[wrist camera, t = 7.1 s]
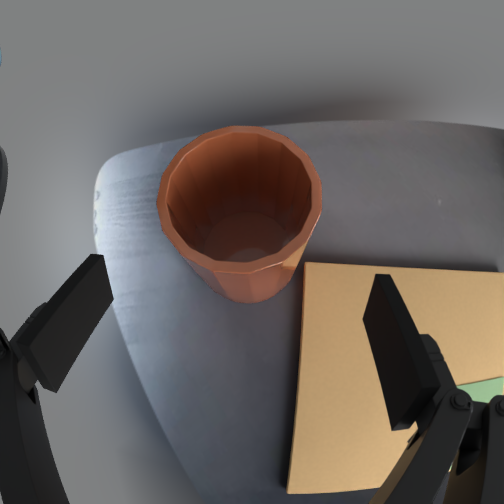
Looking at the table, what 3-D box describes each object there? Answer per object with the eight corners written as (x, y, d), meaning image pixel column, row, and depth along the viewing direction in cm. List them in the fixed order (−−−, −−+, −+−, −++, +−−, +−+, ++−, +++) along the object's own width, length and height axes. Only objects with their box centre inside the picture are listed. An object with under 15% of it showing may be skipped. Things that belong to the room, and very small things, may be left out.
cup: (194, 299, 24) (144, 266, 13) (205, 207, 26) (173, 125, 16) (294, 306, 24) (321, 278, 13) (297, 212, 26) (319, 130, 15)
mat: (286, 489, 19) (286, 494, 18) (303, 264, 24) (305, 261, 24) (487, 455, 18) (492, 457, 18) (500, 274, 24) (504, 272, 23)
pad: (424, 475, 18) (425, 476, 18) (439, 388, 20) (440, 388, 20) (490, 455, 18) (491, 455, 18) (503, 376, 20) (504, 376, 20)
